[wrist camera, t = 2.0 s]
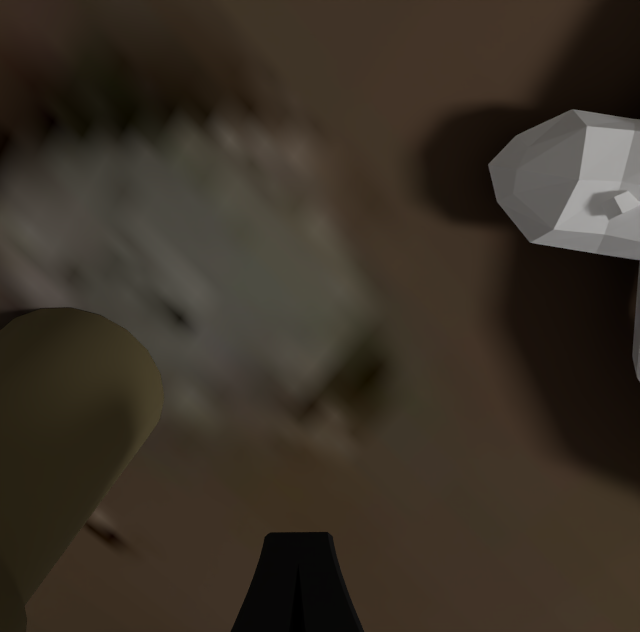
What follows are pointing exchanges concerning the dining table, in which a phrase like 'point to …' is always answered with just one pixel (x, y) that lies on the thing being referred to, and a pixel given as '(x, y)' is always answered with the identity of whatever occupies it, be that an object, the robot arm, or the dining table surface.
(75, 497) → the cork
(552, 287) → the dining table surface
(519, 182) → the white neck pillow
